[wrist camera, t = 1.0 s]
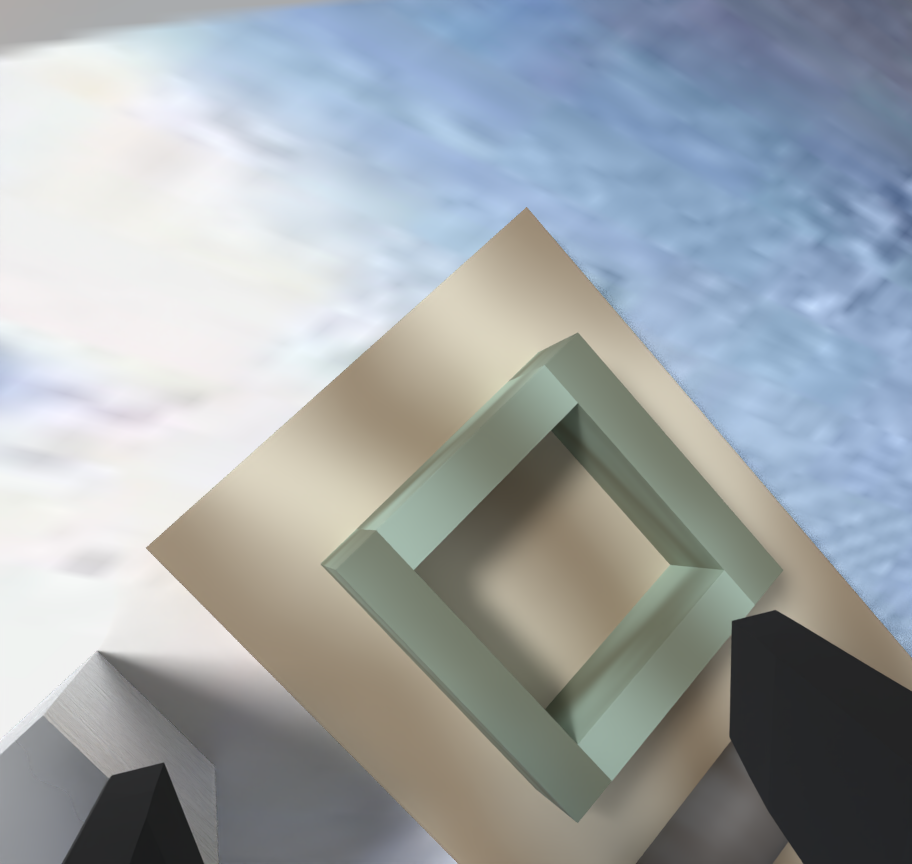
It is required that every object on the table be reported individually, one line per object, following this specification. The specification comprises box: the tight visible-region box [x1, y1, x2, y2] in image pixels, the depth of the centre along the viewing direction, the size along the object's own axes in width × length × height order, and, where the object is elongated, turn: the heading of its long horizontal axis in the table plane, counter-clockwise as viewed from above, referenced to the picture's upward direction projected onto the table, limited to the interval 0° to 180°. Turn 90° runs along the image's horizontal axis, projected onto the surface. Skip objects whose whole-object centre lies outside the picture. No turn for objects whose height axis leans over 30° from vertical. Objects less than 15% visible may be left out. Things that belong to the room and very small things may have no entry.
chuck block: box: [146, 207, 912, 864], centre depth 22 cm, size 13×20×4 cm, turn 44°
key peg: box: [0, 651, 219, 864], centre depth 16 cm, size 4×4×7 cm
